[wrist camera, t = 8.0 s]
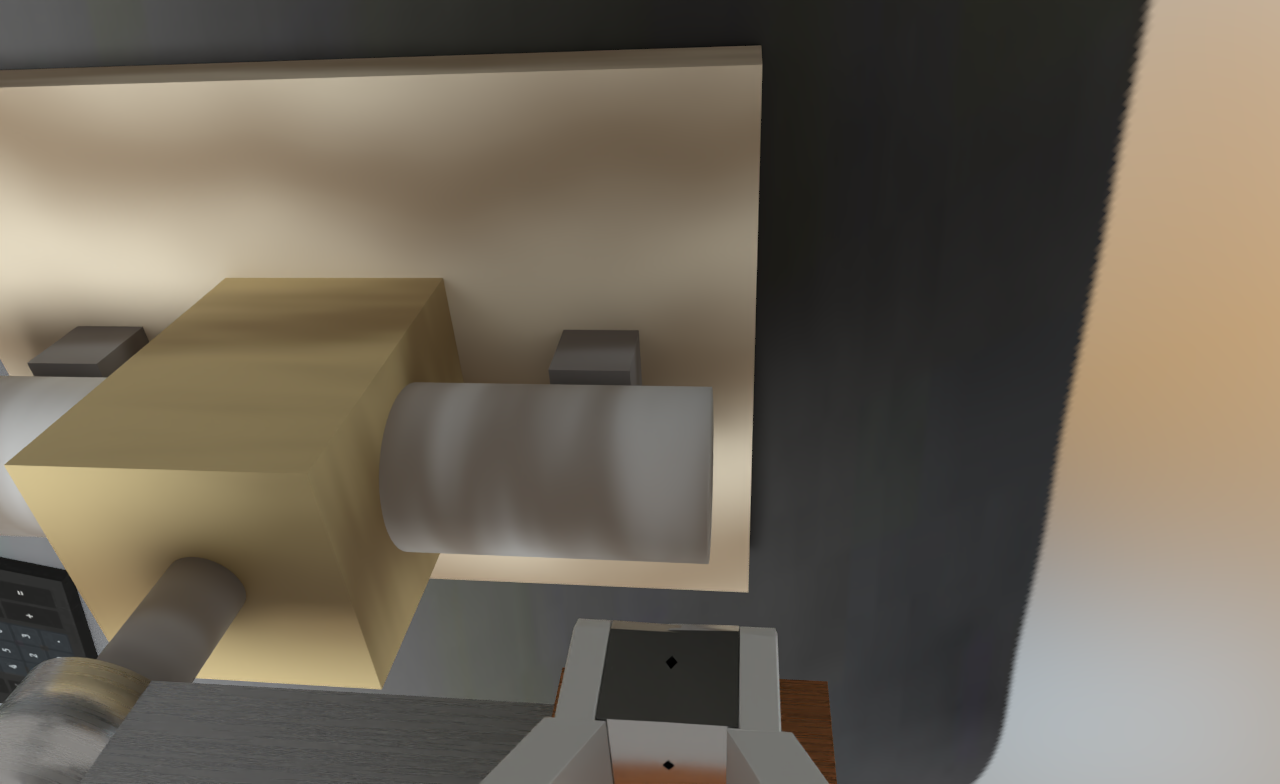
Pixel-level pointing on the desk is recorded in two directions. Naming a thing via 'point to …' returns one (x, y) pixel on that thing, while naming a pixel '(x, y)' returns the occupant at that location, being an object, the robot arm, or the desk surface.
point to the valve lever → (282, 731)
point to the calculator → (38, 620)
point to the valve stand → (374, 340)
